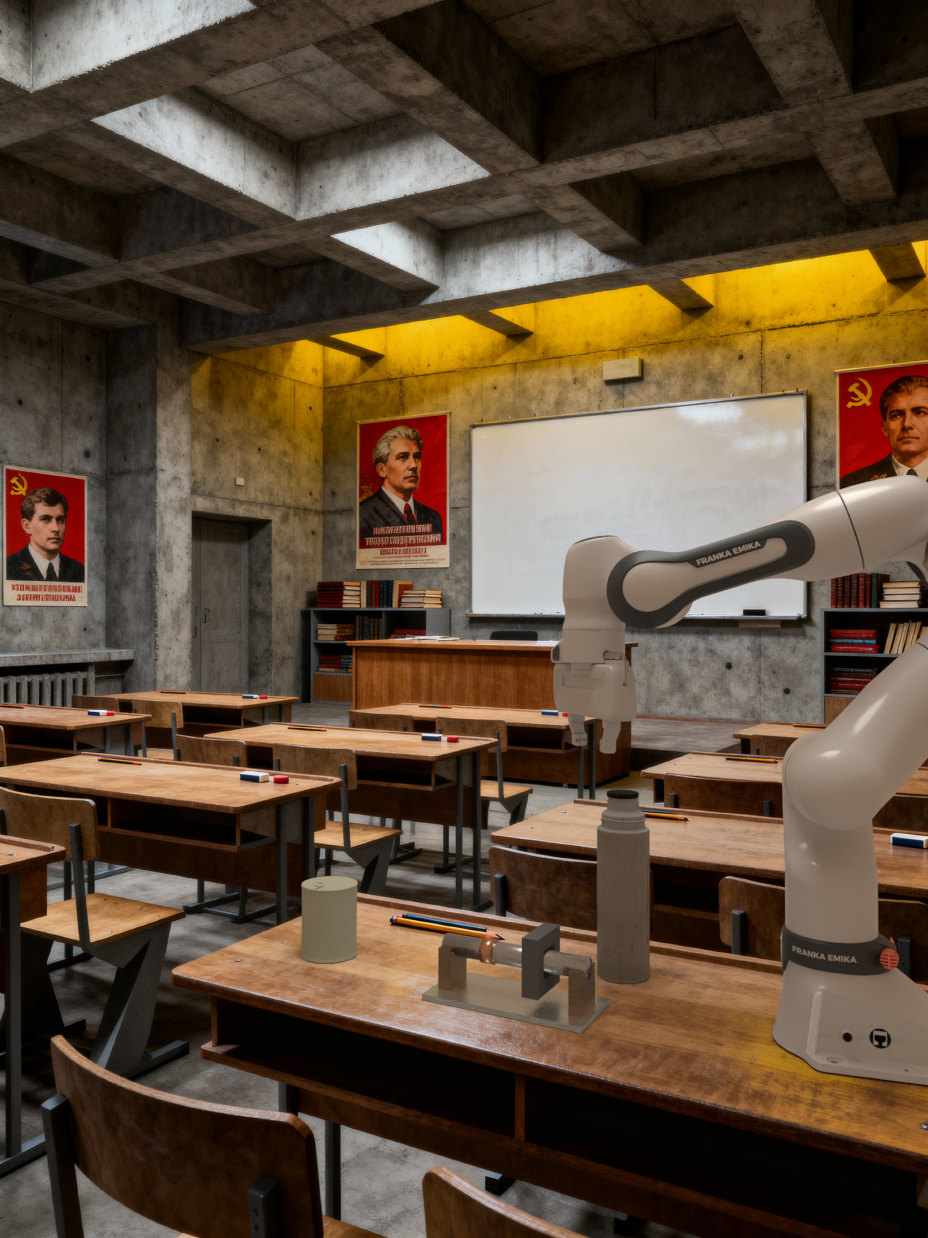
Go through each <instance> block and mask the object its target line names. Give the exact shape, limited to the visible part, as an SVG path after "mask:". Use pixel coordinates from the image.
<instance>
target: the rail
mask: <svg viewBox="0 0 928 1238" xmlns="http://www.w3.org/2000/svg"><path fill="white" fill-rule="evenodd" d="M437 949H438V954H437V956H438V960H437V961H438V969H437V971H438V972H437V974H438V975H437V976H438V977H437V978H438V980H437V983H436V984H435V985H433V986H431V987H429V988H428V989H427V990H425V991H423V992H422V993H421V1001H426V1002H431V1003H436V1004H441V1005H446V1006H450V1007H454V1008H459V1009H465V1010H469V1011H474V1012H477V1013H483V1014H487V1015H493V1016H497V1017H501V1018H506V1019H511V1020H515V1021H519V1022H520V1021H522V1022H525V1023H530V1024H534V1025H538V1026H543V1027H549V1028H554V1029H559V1030H563V1031H567V1032H573V1033H576V1034H577V1033H578V1034H583V1032H584V1031H586V1029H588V1027H590V1025H591V1024H592V1023H593V1022H594V1021H595V1020H596V1019H597V1018H598V1017H599V1016H600V1015H601V1014H602V1012H604V1011H605V1009H606V1008H608V1006H609V1005H610V998H607V997H603V996H596V962H595V961H593V959H592V957H591V956H586V955H580V954H574V953H569V952H563V951H560V952H558V951H552V950H545V951H544V972H545V973H551V974H556V975H560V977H561V976H563V977H568V978H567V981H568V984H567V988H568V989H567V990H565V989H560V988H555V987H553V988H552V989H551V990H549V991H548V992H547V993H546V994H545V995H544V996H542V997H541V998H540V999H539V1000H533V999H528V998H523V997H521V989H522V981H518V980H513V979H507V978H501V977H496V976H492V975H486V974H481V973H476V972H470V971H467V970H468V969H467V966H468V964H467V962H468V961H467V959H470V960H475V961H479V962H480V963H481V964H485V965H491V966H495V965H503V966H509V967H512V968H513V967H514V968H517V969H518V968H519V969H522V944H516V943H510V942H505V941H500V939H497V938H491V937H486V936H484V937H483V938H481V937H474V936H470V935H469V936H468V935H462V934H457V933H452V932H447V933H445V934H444V936H443V938H442V942H441V946H439V947H438V948H437Z"/></svg>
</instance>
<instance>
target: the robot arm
mask: <svg viewBox="0 0 928 1238" xmlns="http://www.w3.org/2000/svg"><path fill="white" fill-rule="evenodd" d="M902 561H903V562H906V564H907V566H908V567H909V568H910V570H911V571H912V572H913V573H914V575H915V576H916V577H917V578H918V579H919V581H920V582H921V584H922V585H923V587H925V589H926V590H927V591H928V482H927V481H926V480H925V479H923V478H921V477H919V476H918V475H912V474H905V475H895V476H890V477H884V478H880V479H875V480H871V481H870V480H869V481H865V482H861V483H859V484H854V485H850V486H848V487H844V488H841V489H838V490H836V491H831V492H829V493H826V494H823V495H821V496H818V497H815V498H813V499H811V500H809V501H806V502H805V503H802V504H800V505H798V506H796V507H794V508H792V509H791V510H789V511H787V512H785V513H783V514H781V515H779V516H778V517H776V518H774V519H771V520H770V521H767V522H766V523H764V524H762V525H760V526H758V527H756V528H755V529H751V530H749V531H746V532H743V533H740V534H736V535H733V536H730V537H727V538H724V539H720V540H717V541H714V542H711V543H706V544H703V545H702V546H698V547H695V548H692V549H688V550H684V551H673V552H671V551H663V550H652V549H651V550H650V549H647V550H646V549H645V550H639V549H637V548H636V547H634V546H631V545H630V544H628V543H627V542H625V541H623V540H622V539H621V538H620V537H618V536H615V535H608V534H607V535H597V536H591V537H587V538H583V539H581V540H579V541H576V542H574V543H573V544H571V546H570V547H569V548H568V550H567V552H566V555H565V559H564V564H563V578H562V603H563V607H564V611H565V613H564V619H563V620H564V621H563V624H562V629H561V630H562V635H561V637H562V638H560V640H559V641H558V643H557V644H555V645H554V646H553V647H552V648H551V649H550V650H551V651H550V660H551V662H552V663H554V664H555V665H554V666H553V672H552V673H553V674H552V676H553V677H552V680H553V681H552V683H553V701H554V704H555V705H554V706H555V708H556V710H557V711H558V712H561V713H564V714H565V713H566V714H567V721H568V725H569V729H570V732H571V744H572V745H573V746H577V747H583V746H586V745H587V743H588V733H586V732H585V731H586V730H585V723H584V722H585V720H586V717H587V718H591V719H597V720H602V722H601V723H602V726H601V727H602V728H603V732H602V738H601V739H599V751H600V752H601V753H603V754H615V753H616V751H617V740H618V737H619V734H620V731H621V728H622V725H621V724H622V723H621V722H633V721H634V720H635V719H636V715H637V711H638V704H637V703H638V702H637V690H636V688H637V686H636V678H635V673H634V670H633V668H632V666H630V662H629V660H627V657H626V625H628V626H629V627H632V628H635V629H642V630H650V629H660V628H668V627H670V626H673V625H675V624H677V623H678V622H679V621H681V620H683V618H685V617H686V615H687V614H688V613H689V612H690V610H691V607H692V605H693V603H694V602H695V601H698V600H699V599H702V598H705V597H708V596H712V595H716V594H718V593H722V592H725V591H728V590H731V589H734V588H738V587H742V586H744V585H748V584H751V583H756V582H760V581H764V580H774V579H778V580H780V579H782V580H783V579H785V580H794V581H800V582H817V581H825V580H832V579H836V578H841V577H845V576H851V575H853V574H857V573H861V572H863V571H867V570H870V569H873V568H875V567H876V568H877V567H879V566H882V565H883V566H884V565H886V564H889V563H894V562H902ZM927 759H928V630H927V631H926V632H925V633H924V634H922V635H921V636H920V638H918V639H916V640H915V642H913V644H911V645H910V646H909V647H908V648H907V649H906V650H904V651H903V652H902V653H901V654H900V655H898V656H897V657H896V659H894V660H893V661H892V662H890V663H889V665H887V666H886V667H885V668H884V669H883V670H882V671H881V672H880V673H879V674H877V675H876V676H875V677H874V678H873V679H872V680H871V681H869V683H867V684H866V685H865V686H864V687H863V689H861V691H860V692H859V693H858V694H857V696H856V697H854V698H853V700H852V701H851V702H850V703H849V704H848V705H847V706H846V707H845V708H844V709H843V711H842V712H840V714H839V715H837V716H836V717H835V719H834V720H833V721H831V722H830V723H829V724H828V726H826V727H825V728H824V729H823V730H816V731H811V732H807V733H806V734H803V735H801V736H800V737H798V738H797V739H795V740H794V741H793V742H792V743H791V744H790V745H789V747H788V748H787V750H786V751H785V754H784V756H783V760H782V763H781V764H782V766H781V785H782V787H781V788H782V789H781V791H782V793H781V794H782V819H783V821H782V823H783V824H782V825H783V828H782V829H783V847H784V851H783V852H784V854H783V855H784V886H785V887H784V902H785V903H784V909H785V911H784V919H785V920H784V921H785V922H784V923H783V925H782V926H781V932H780V962H781V969H782V970H783V976H782V986H781V993H780V999H779V1006H778V1010H777V1015H776V1017H775V1022H774V1026H773V1028H772V1032H771V1034H772V1037H773V1039H774V1040H775V1041H776V1043H777V1044H778V1045H779V1046H780V1047H782V1048H783V1049H785V1050H787V1051H788V1052H791V1053H793V1054H794V1055H796V1056H798V1057H800V1058H802V1059H803V1060H805V1062H806V1063H808V1065H810V1066H811V1067H812V1068H813V1069H815V1070H817V1071H820V1072H824V1073H831V1074H840V1075H847V1076H855V1077H863V1078H871V1079H877V1080H878V1079H879V1080H885V1081H886V1080H887V1081H894V1082H901V1083H907V1084H908V1083H909V1084H910V1083H911V1084H915V1085H926V1086H928V992H927V991H926V990H924V989H923V988H921V987H920V986H919V985H918V984H917V983H915V981H913V980H912V979H911V978H910V977H908V976H907V975H906V974H905V973H903V972H902V970H900V969H899V968H898V965H899V962H900V961H899V960H900V957H899V954H898V952H897V945H896V944H895V941H894V939H893V938H892V937H889V939H888V938H887V937H885V936H884V935H883V934H881V933H880V932H879V884H878V883H879V877H878V876H879V875H878V873H879V871H878V865H877V859H876V857H877V856H876V850H875V838H874V829H873V827H874V826H873V819H874V818H875V817H876V815H877V814H878V813H879V811H880V810H881V809H882V808H883V807H884V806H885V805H886V804H887V803H888V802H889V801H890V800H891V799H892V798H893V797H894V796H895V795H896V794H897V793H898V792H899V791H900V790H901V789H902V787H903V786H905V784H906V783H907V782H908V781H909V780H910V779H911V778H912V777H913V776H914V775H915V773H916V772H917V771H918V770H919V769H920V768H921V766H922V765H923V764H924V763H925V762H926V761H927Z"/></svg>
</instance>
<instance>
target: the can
mask: <svg viewBox="0 0 928 1238" xmlns="http://www.w3.org/2000/svg"><path fill="white" fill-rule="evenodd" d="M358 885H359V882H358V880H356V879H355V878H352V877H348V876H342V875H329V876H328V875H326V876H325V875H324V876H319V877H318V876H317V877H312V878H309V879H306V880H304V881H302V883H301V885H300V886H301V943H300V944H301V947H300V954H299V956H300V959H302V960H303V961H305V962H307V963H308V962H309V963H312V964H320V965H322V964H323V965H327V964H338V963H343V962H344V963H345V962H348V961H351V960H352V959H354V958H355V957H357V956H358V947H357V938H358V937H357V927H358V925H357V924H358V922H357V921H358V920H357V919H358V916H357V915H358V914H357V913H358V912H357V911H358Z"/></svg>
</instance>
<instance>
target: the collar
mask: <svg viewBox="0 0 928 1238" xmlns="http://www.w3.org/2000/svg"><path fill="white" fill-rule="evenodd" d="M521 945H522V968H521V982H522V989H521V997H523V998H528V999H533V1000H539V999H540V998H541V997H542V996H544V995H545V994H546V993H547V992H548V991H549V990H551V989H552V988H555V986H557V984H559V983H560V981H561V975H556V974H551V973H545V972H544V951H545V950H552V951H558V952H561V924H556V923H550V922H545V921H544V922H542V923H541V924H540V925H538V926H536V928H534V929H533V930H531V931H530V932H528V933H527V934H524V936H521Z"/></svg>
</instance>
